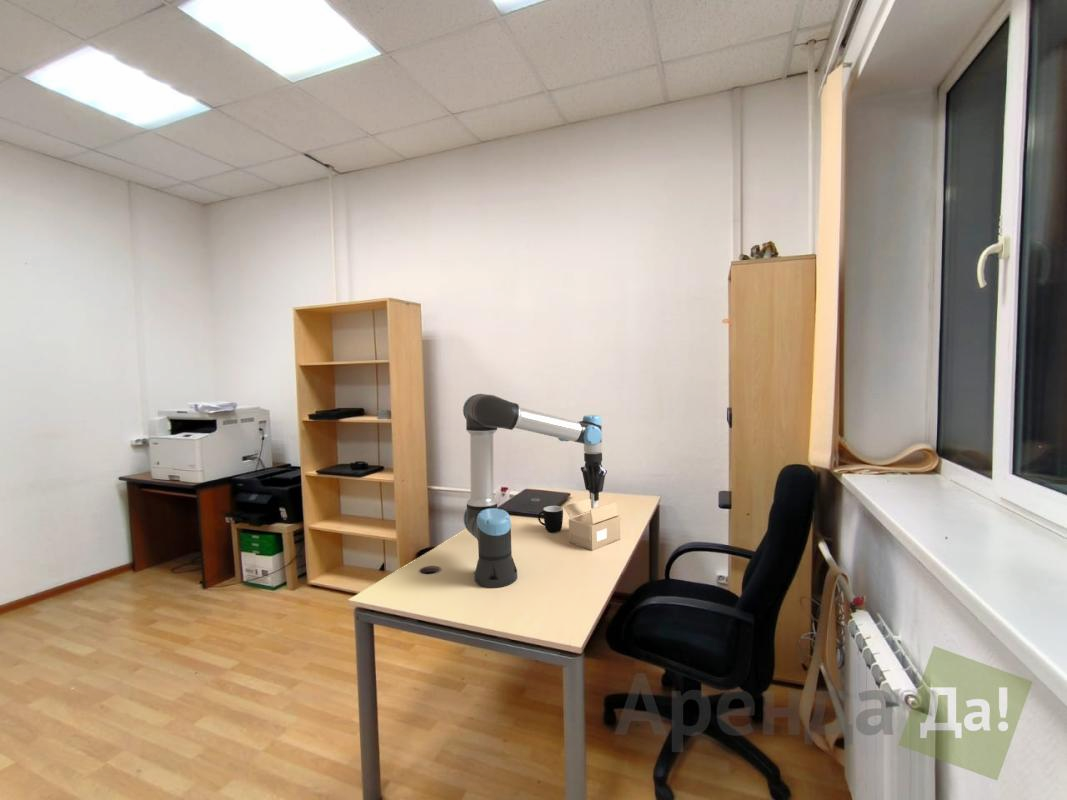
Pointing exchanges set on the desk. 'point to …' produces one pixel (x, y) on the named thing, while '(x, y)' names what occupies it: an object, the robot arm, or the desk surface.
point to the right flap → (604, 512)
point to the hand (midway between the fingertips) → (594, 507)
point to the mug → (552, 518)
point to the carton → (593, 531)
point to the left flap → (578, 507)
